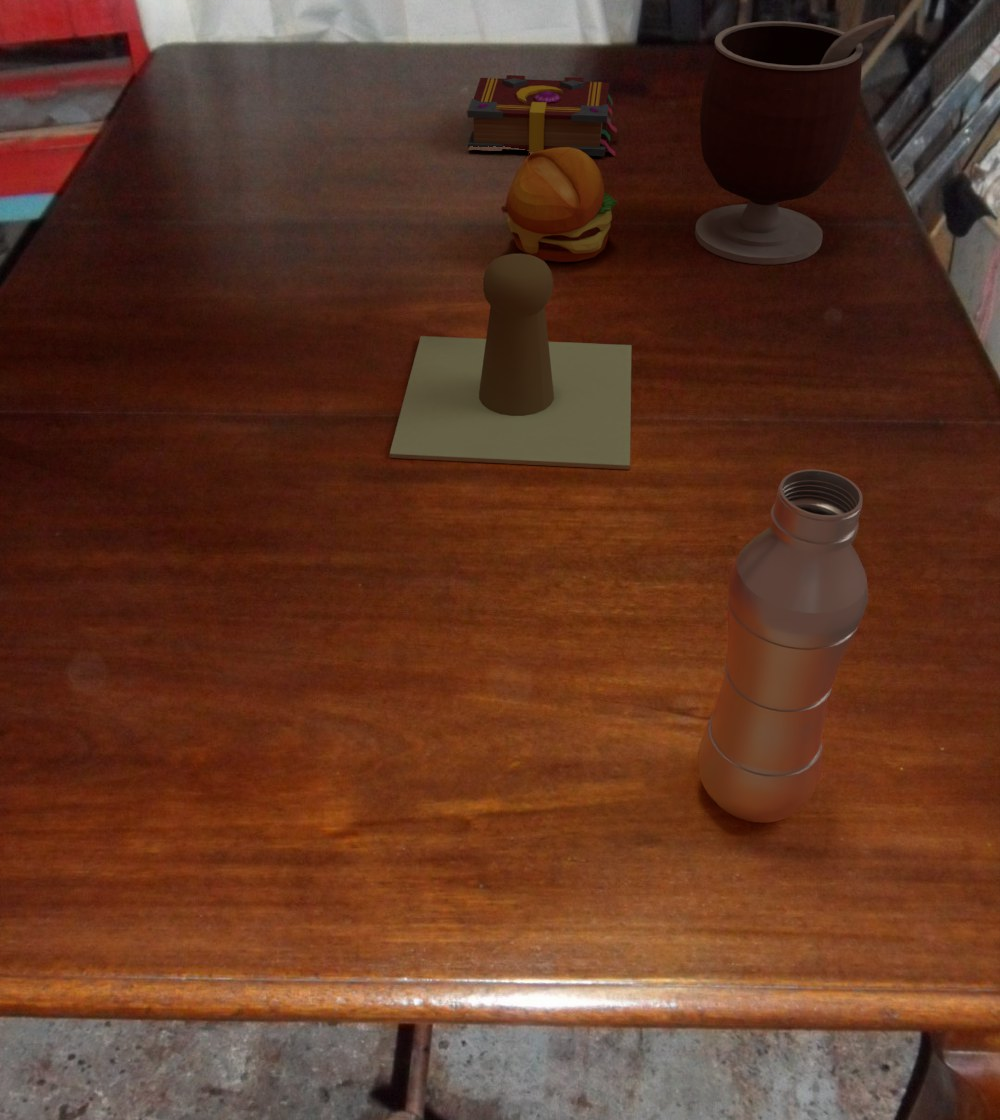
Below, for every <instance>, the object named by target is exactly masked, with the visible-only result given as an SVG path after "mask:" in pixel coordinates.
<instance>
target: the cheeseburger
mask: <svg viewBox="0 0 1000 1120" xmlns="http://www.w3.org/2000/svg"><path fill="white" fill-rule="evenodd" d="M602 175H603V174H602V173H601V171H600V168H599V166H598V165H597V164H596V162H595V161H594V159H593V158H592V157H590V156H588V155H587V154H586V153H584V152H582V151H581V150H579V149H575V148H570V147H559V148H551V149H546V150H542V151H537V152H534V153H532V154H531V155H529V154H528V155H527V156H526V158H524V160H523V162H522V164H521V165H520V166H519V168H518V169H517V171H516V173H515V175H514V177H513V179H512V182H511V183H510V184H511V185H510V187H509V190H508V193H507V196H506V202H505V204H504V205H502V206H501V207H500V211H501V212H502V213H503V214H507V215H508V218H507V221H506V226H507V227H508V228H509V231H510V233H511V234H512V237H513V240H514V244H515V245H516V248H517V249H519V250H520V251H521V252H523V254H528V255H532V256H535V257H537V258H539V259H541V260H543V261H547V262H555V263H574V262H580V261H584V260H588V259H589V260H590V259H592V258H595V257H596V256H598V255H599V254H600V253H601V252H602V251H604V250H605V248H606V244H607V243H608V238H609V235H610V231H611V227H612V226H611V221H612V220H613V215H612V209H613V207H615V206H616V205H617V204H619V202H618V200H617V199H615V198H614V197H612V196H611V195H610V194H609V193H606V192H605V183H604V180H603V179H604V178H603V176H602Z"/></svg>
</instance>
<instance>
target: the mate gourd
mask: <svg viewBox="0 0 1000 1120" xmlns="http://www.w3.org/2000/svg"><path fill="white" fill-rule="evenodd" d="M895 22H896V15H895V14H890V15H887V16H882V17H878V18H876V19H873V20H870V21H868V22H865V23H863V24H860V25H857V26H855V27H853V28H851V29H849V30H847V31H842V30H839V29H836V28H833V27H828V26H825V25H819V24H814V23H808V22H800V21H786V20H785V21H784V20H783V21H781V20H774V21H773V20H768V21H767V20H766V21H753V22H747V23H742V24H737V25H734V26H731V27H730V26H729V27H728V28H725V29H723V30H722V31H720V32H718V34H717V35H716V36H715V38H714V46H713V49H712V52H711V54H710V59H709V62H708V66H707V70H706V74H705V78H704V82H703V86H702V93H701V94H702V95H701V103H700V112H699V121H700V122H699V126H700V127H699V128H700V129H699V132H700V135H699V136H700V146H701V154H702V158H703V161H704V163H705V165H706V167H707V168H708V170H709V171H710V174H711V175H712V177H713V179H714V180H715V182H716V184H717V185H718V186H719V187H721V188H722V189H723V190H725V191H727V192H728V193H731V194H733V195H736V196H738V197H741V198H743V199H746V200H748V203H742V204H729V205H724V206H721V207H716V208H714V209H711V210H709V211H706V212H705V213H704V214H702V215H701V216H700V217H699V218H698V219H697V220H696V222H695V229H694V236H695V240H696V241H697V242H698V244H699V245H700V246H701V247H702V248H704V249H705V250H706V251H708V252H710V253H711V254H713V255H716V256H717V257H721V258H723V259H726V260H731V261H734V262H738V263H743V264H751V265H762V266H763V265H765V266H767V265H769V266H770V265H785V264H790V263H795V262H796V263H797V262H799V261H803V260H806V259H808V258H809V257H811V256H813V255H814V254H815V253H817V252H818V251H819V250H820V248H821V246H822V244H823V235H824V234H823V230H822V227H820V225H819V224H818V223H817V222H816V221H815V220H813V219H811V218H810V217H809V216H807V215H806V214H803V213H801V212H798V211H795V210H793V209H790V208H785V207H781V206H779V205H778V203H782V202H787V201H792V200H797V199H802V198H805V197H807V196H809V195H812V194H813V193H815V192H816V191H817V190H818V189H820V187H821V186H822V185H823V184H824V183H825V182H826V181H827V180H828V179H829V178H830V177H831V176H833V174H834V173H835V172H836V171H837V169H838V168H839V166H840V164H841V162H842V160H843V157H844V155H845V152H846V151H847V147H848V145H849V142H850V139H851V136H852V133H853V130H854V128H855V124H856V119H857V114H858V108H859V103H860V99H861V88H862V87H861V86H862V72H863V71H862V55H863V52H864V46H863V44H862V42H863V41H864V40H865V39H866V38H868V37H869V36H871V35H872V34H874V33H875V32H877V31H879V30H881V29H883V28H885V27H892V26H895V24H896V23H895Z"/></svg>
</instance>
